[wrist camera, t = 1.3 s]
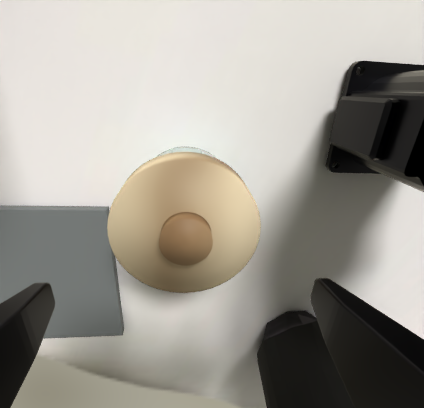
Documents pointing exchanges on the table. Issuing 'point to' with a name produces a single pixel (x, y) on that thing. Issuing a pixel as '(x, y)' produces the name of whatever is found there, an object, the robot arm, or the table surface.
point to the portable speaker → (299, 365)
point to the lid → (184, 223)
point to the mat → (63, 266)
